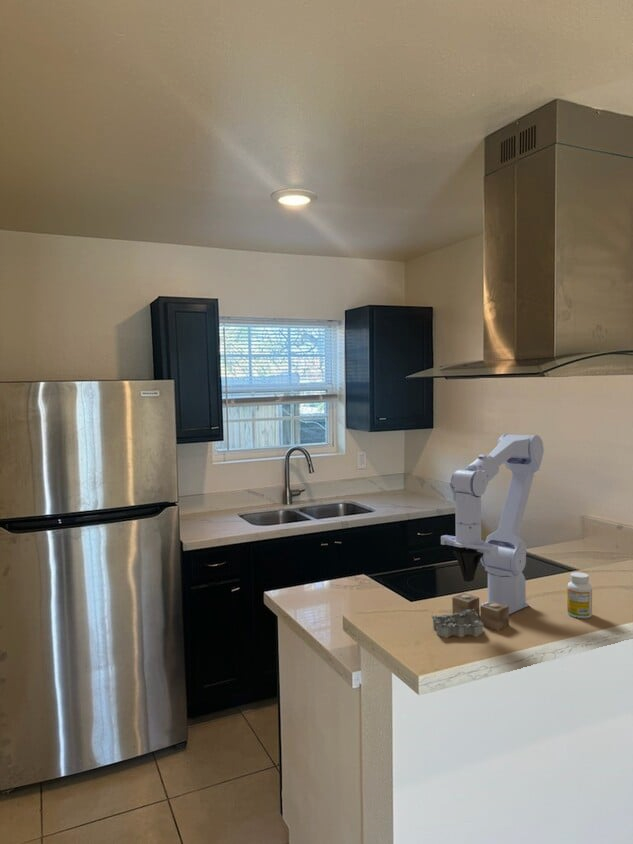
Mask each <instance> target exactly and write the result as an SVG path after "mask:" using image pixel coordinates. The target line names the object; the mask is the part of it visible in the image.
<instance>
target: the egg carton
mask: <svg viewBox="0 0 633 844" xmlns="http://www.w3.org/2000/svg"><path fill="white" fill-rule="evenodd" d="M479 617H480V616H478V614H477V613H476V611H475V609H472V610H471V609H468V610H467V609H466V610H462V612H461V613H454V614H453V613H451V614H449V613H448V614H447V613H445V614H442V615H436V614H435V615H431V618H432V621H433V622H432V624H433V625H432V627H433V628H432V629H433V630H435V631H436V635H437V636H439V637H443V638H449V637H450V636H456V637H458V638H464V637H465V636H466V635H467V636H469V635H470V636H473V637H475V638H476V637H480V635H483V627H485V626H484V625H483V623H482V622H481V619H480V618H479Z"/></svg>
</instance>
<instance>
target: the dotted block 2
mask: <svg viewBox="0 0 633 844" xmlns="http://www.w3.org/2000/svg"><path fill="white" fill-rule="evenodd" d="M479 611H480V620H481V622H482V623H483V625H484V626H483V627H486V628H489V629H492V630H495V631H500V630H502V629H504V628H506V627H508V626H510V619H509V617H510V614H509V606H506V605H503V604H499V603H496V602H492V601H491V602H489V603H487V604H484V605H482V606H481V605H479Z"/></svg>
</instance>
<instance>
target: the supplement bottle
mask: <svg viewBox="0 0 633 844" xmlns="http://www.w3.org/2000/svg"><path fill="white" fill-rule="evenodd" d="M589 577H590V575H589V574H587V573H585V572H579V571H578V572H577V571H576V572H575V571H574V572H571V573H570V581H569V582H568V583H567V587H566V588H567V589H566V590H567V594H566V595H567V605H566V606H567V609H566V610H567V614H568V615H569V616H570V617H573V618H576V617H577V619H589V618H591V617H592V616H593V587H592V585H591V584H590V583H589V582H590V578H589Z"/></svg>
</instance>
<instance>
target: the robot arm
mask: <svg viewBox="0 0 633 844" xmlns="http://www.w3.org/2000/svg"><path fill="white" fill-rule="evenodd" d="M544 451H545V448H544V442H543V440H542V438H541V436H540V435H539V434H533V435H531V434H530V435H526V434H508V433H504V434H502V435H500V437H498V440H497V445H496V446H495V448H494V449H492V451H491V452H490V453H489V454H479V455H478V456H477V458H476V459H475V460H474V461H472V463H470V464H468V466H467V467H465V468H464V469H458V470H456V471H454V472H453V474H452V475H451V478H450V482H449V488H450V492H451V493H452V499H453V502H454V503H455V507H454V508H455V536H454V535H448V534H445V535H444V534H443V535H441V536H440V545H442V546H443V545H444V546H445V545H447V546H453V547H454V548H455V547H456V549H455V550H453V555H454V557H455V559H456V560H457V562H458V565H459V567H460V571H461V575H462V579H463V581H464V582H467V583H470V582H473V581H474V579H475V575H476V571H477V569H478V566H479V564H480V563H481V565H482V567H484V571H486V572H487V601H486V602H483V603H481V604H480V606H482V605H484V604H487V603H489V602H491V601H492V602H496V603H499V604H503V605H506V606H509V615H510V614H511V615H512V614H513V613H515V612H517V611H520V610H521V609H524V608H526V607H529V606H530V603H528V602H526V601H527V600H526V599H527V597H526V596H527V595H526V593H527V588H526V587H527V586H526V585H527V584H526V577H525V576H524V573H523V571H524V570H525V567H526V564H527V557H526V556H527V549H528V547H527V544H526V543H525V542H524V541H523V540H522V538H521V537H520V536H519V535H520V532H521V528H522V524H523V519H524V517H525V512H526V507H527V503H528V499H529V495H530V492H531V488H532V484H533V480H534V476H535V473H536V472H538V471H539V470H540V467H541V464H542V460H543V456H544ZM503 464H504V465H505V468H506V469H508V470H510V471H511V473H512V474H511V478H510V482H509V486H508V490H507V493H506V498H505V501H504V505H503V508H502V512H501V515H500V520H499V523H498V528H497V530H495V531H493V532H492V533H490V534H488V535H487V536H486V539H485V541H484V540H482V496H483V495H485V492H486V489H487V486H488V484H489V483H490V481H491V480H492V479H494V478H495V476H497V475H498V474H499V471H500V466H501V465H503Z"/></svg>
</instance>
